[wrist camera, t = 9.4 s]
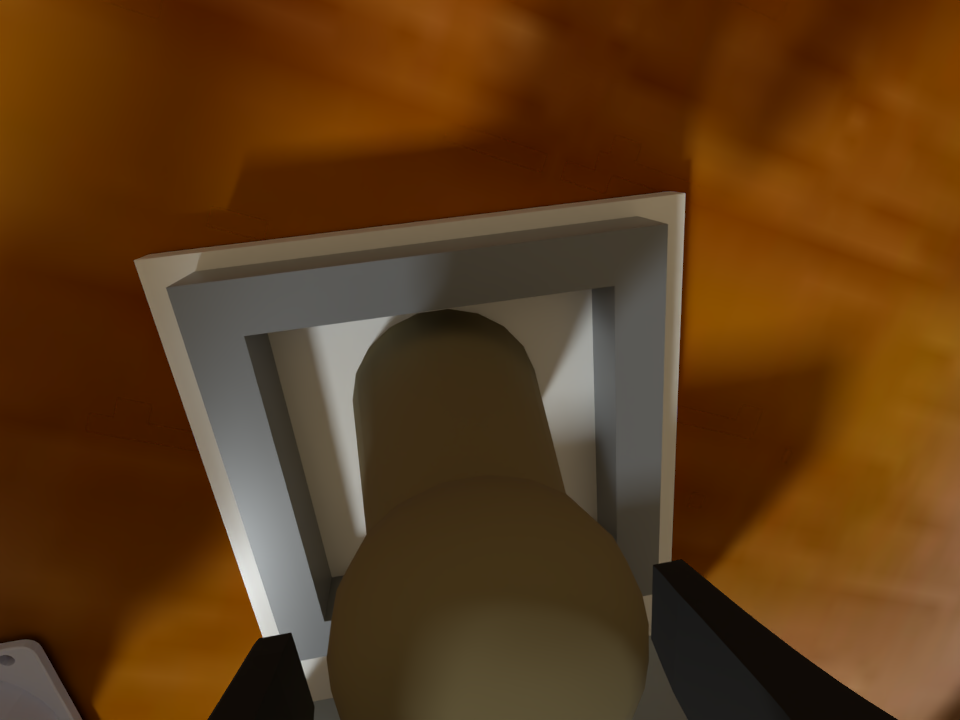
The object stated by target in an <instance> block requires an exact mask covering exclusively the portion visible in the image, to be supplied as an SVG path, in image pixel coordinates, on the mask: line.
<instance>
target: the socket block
mask: <svg viewBox="0 0 960 720" xmlns="http://www.w3.org/2000/svg"><path fill="white" fill-rule="evenodd" d="M685 196H686V193H681V192H673V191H667V192H659V193H650V194H642V195H634V196H626V197H617V198H609V199H601V200H593V201H584V202H576V203H568V204H560V205H551V206H543V207H535V208H527V209H518V210H510V211H502V212H494V213H485V214H477V215H469V216H461V217H452V218H444V219H436V220H428V221H419V222H411V223H403V224H395V225H386V226H378V227H370V228H362V229H353V230H345V231H337V232H329V233H320V234H312V235H304V236H296V237H287V238H279V239H271V240H263V241H254V242H246V243H238V244H230V245H221V246H213V247H205V248H196V249H188V250H180V251H172V252H163V253H155V254H149V255H146V256H144V257H141V258H138V259H136V260H134V263H135V266H136V269H137V272H138V275H139V278H140V281H141V284H142V287H143V289H144V292H145V295H146V298H147V301H148V304H149V307H150V310H151V313H152V316H153V319H154V321H155V324H156V327H157V330H158V333H159V336H160V339H161V342H162V345H163V348H164V351H165V354H166V356H167V359H168V362H169V365H170V368H171V371H172V374H173V377H174V380H175V383H176V386H177V388H178V391H179V394H180V397H181V400H182V403H183V406H184V409H185V412H186V415H187V418H188V421H189V423H190V426H191V429H192V432H193V435H194V438H195V441H196V444H197V447H198V450H199V453H200V455H201V458H202V461H203V464H204V467H205V470H206V473H207V476H208V479H209V482H210V485H211V488H212V490H213V493H214V496H215V499H216V502H217V505H218V508H219V511H220V514H221V517H222V520H223V522H224V525H225V528H226V531H227V534H228V537H229V540H230V543H231V546H232V549H233V552H234V555H235V557H236V560H237V563H238V566H239V569H240V572H241V575H242V578H243V581H244V584H245V587H246V589H247V592H248V595H249V598H250V601H251V604H252V607H253V610H254V613H255V616H256V619H257V622H258V624H259V627H260V630H261V633H262V636H263V638H264V637H269V636H275V635H280V634H285V633H292V636H293V639H294V642H295V645H296V649H297V652H298V655H299V658H300V661H301V664H302V668H303V671H304V674H305V677H306V680H307V684H308V687H309V690H310V693H311V696H312V700H313V703H314V706H315V709H314V720H340V717H339V714H338V711H337V708H336V705H335V702H334V699H333V696H332V693H331V688H330V681H329V674H328V666H327V651H328V643H329V635H330V627H331V620H332V614H333V608H334V602H335V597H336V591H337V588H338V586H339V584H340V582H341V580H342V578H343V576H344V574H345V572H346V571H347V569H348V567H349V565H350V563H351V561H352V559H353V558H354V556H355V554H356V552H357V551H358V549H359V547H360V545H361V543H362V542H363V540H364V538H365V536H366V525H365V516H364V506H363V496H362V487H361V477H360V468H359V458H358V449H357V439H356V429H355V420H354V410H353V401H352V400H353V392H354V384H355V376H356V372H357V370H358V368H359V366H360V364H361V362H362V360H363V358H364V356H365V354H366V352H367V350H368V348H369V347H370V346H371V345H372V344H373V343H374V342H375V341H376V340H377V339H378V338H379V337H380V336H381V335H382V334H384V333H385V332H386V331H387V330H388V329H389V328H390V327H391V326H393V325H395V324H397V323H399V322H401V321H403V320H406V319H408V318H410V317H412V316H414V315H416V314H418V313H424V312H431V311H437V310H444V309H453V310H459V311H466V312H473V313H478V314H480V315H482V316H484V317H486V318H488V319H490V320H492V321H494V322H496V323H498V324H500V325H502V326H504V327H505V328H506V329H507V330H508V331H509V332H510V333H511V334H512V335H513V336H514V337H515V338H516V339H517V340H518V341H519V342H520V343H521V344H522V345H523V346H524V348H525V350H526V353H527V355H528V357H529V359H530V361H531V363H532V365H533V368H534V370H535V373H536V377H537V381H538V385H539V389H540V393H541V397H542V401H543V405H544V409H545V413H546V417H547V421H548V425H549V429H550V432H551V436H552V440H553V444H554V448H555V452H556V456H557V460H558V464H559V468H560V472H561V476H562V480H563V484H564V488H565V492H566V494H567V495H568V496H569V497H570V498H571V499H573V500H574V501H575V502H576V503H577V504H578V505H579V506H580V507H581V508H582V509H584V510H585V511H586V512H587V513H588V514H589V515H590V516H591V517H592V518H593V519H594V520H596V521H597V522H598V523H599V524H600V525H601V526H602V527H603V528H604V529H605V530H606V531H608V532H609V533H610V534H611V535H612V536H613V538H614V539H615V541H616V543H617V545H618V546H619V548H620V550H621V552H622V553H623V555H624V557H625V559H626V560H627V562H628V565H629V567H630V569H631V571H632V573H633V575H634V578H635V580H636V582H637V584H638V586H639V589H640V591H641V593H642V596H643V600H644V605H645V609H646V614H647V618H648V623H649V663H648V670H647V676H646V683H645V689H644V692H643V694H642V697H641V699H640V702H639V704H638V707H637V709H636V712H635V714H634V717H633V719H632V720H688V719H687V717H686V715H685V714H684V712H683V710H682V708H681V706H680V704H679V702H678V700H677V699H676V697H675V695H674V693H673V691H672V688H671V686H670V684H669V681H668V679H667V677H666V674H665V672H664V670H663V667H662V665H661V662H660V660H659V657H658V655H657V652H656V650H655V647H654V645H653V642H652V640H651V625H652V578H653V565H654V564H660V563H665V562H670V561H671V558H672V532H673V506H674V481H675V455H676V429H677V403H678V377H679V351H680V326H681V300H682V274H683V248H684V222H685Z"/></svg>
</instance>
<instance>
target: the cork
mask: <svg viewBox="0 0 960 720" xmlns="http://www.w3.org/2000/svg"><path fill="white" fill-rule="evenodd" d="M352 401H353V410H354V420H355V429H356V439H357V449H358V458H359V468H360V477H361V487H362V496H363V506H364V516H365V525H366V536H365V538H364V540H363V542H362V543H361V545H360V547H359V549H358V551H357V552H356V554H355V556H354V558H353V559H352V561H351V563H350V565H349V567H348V569H347V571H346V572H345V574H344V576H343V578H342V580H341V582H340V584H339V586H338V588H337V591H336V597H335V602H334V608H333V614H332V620H331V627H330V635H329V643H328V651H327V666H328V674H329V681H330V688H331V693H332V696H333V699H334V702H335V705H336V708H337V711H338V714H339V717H340V720H632V719H633V717H634V714H635V712H636V709H637V707H638V704H639V702H640V699H641V697H642V694H643V692H644V689H645V683H646V676H647V670H648V663H649V623H648V618H647V614H646V609H645V605H644V600H643V596H642V593H641V591H640V589H639V586H638V584H637V582H636V580H635V578H634V575H633V573H632V571H631V569H630V567H629V565H628V562H627V560H626V559H625V557H624V555H623V553H622V552H621V550H620V548H619V546H618V545H617V543H616V541H615V539H614V538H613V536H612V535H611V534H610V533H609V532H608V531H606V530H605V529H604V528H603V527H602V526H601V525H600V524H599V523H598V522H597V521H596V520H594V519H593V518H592V517H591V516H590V515H589V514H588V513H587V512H586V511H585V510H584V509H582V508H581V507H580V506H579V505H578V504H577V503H576V502H575V501H574V500H573V499H571V498H570V497H569V496H568V495H567V494H566V492H565V488H564V484H563V480H562V476H561V472H560V468H559V464H558V460H557V456H556V452H555V448H554V444H553V440H552V436H551V432H550V429H549V425H548V421H547V417H546V413H545V409H544V405H543V401H542V397H541V393H540V389H539V385H538V381H537V377H536V373H535V370H534V368H533V365H532V363H531V361H530V359H529V357H528V355H527V353H526V350H525V348H524V346H523V345H522V344H521V343H520V342H519V341H518V340H517V339H516V338H515V337H514V336H513V335H512V334H511V333H510V332H509V331H508V330H507V329H506V328H505V327H504V326H502V325H500V324H498V323H496V322H494V321H492V320H490V319H488V318H486V317H484V316H482V315H480V314H478V313H473V312H466V311H459V310H453V309H444V310H437V311H431V312H424V313H418V314H416V315H414V316H412V317H410V318H408V319H406V320H403V321H401V322H399V323H397V324H395V325H393V326H391V327H390V328H389V329H388V330H387V331H386V332H385V333H384V334H382V335H381V336H380V337H379V338H378V339H377V340H376V341H375V342H374V343H373V344H372V345H371V346H370V347H369V348H368V350H367V352H366V354H365V356H364V358H363V360H362V362H361V364H360V366H359V368H358V370H357V372H356V376H355V384H354V392H353V400H352Z"/></svg>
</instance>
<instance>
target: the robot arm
mask: <svg viewBox="0 0 960 720" xmlns="http://www.w3.org/2000/svg"><path fill="white" fill-rule="evenodd" d="M651 640H652V642H653V645H654V647H655V650H656V652H657V655H658V657H659V660H660V662H661V665H662V667H663V670H664V672H665V674H666V677H667V679H668V681H669V684H670V686H671V688H672V691H673V693H674V695H675V697H676V699H677V700H678V702H679V704H680V706H681V708H682V710H683V712H684V714H685V715H686V717H687V719H688V720H898V719H896V718H894V717H893V716H891V715H890V714H888V713H886V712H885V711H883V710H882V709H880V708H878V707H877V706H875V705H874V704H872V703H870V702H869V701H867V700H866V699H864V698H863V697H861V696H860V695H858V694H857V693H855V692H854V691H852V690H851V689H849V688H848V687H846V686H845V685H843V684H842V683H840V682H839V681H838V680H836V679H835V678H833V677H832V676H831V675H829V674H828V673H826V672H825V671H823V670H822V669H821V668H819V667H818V666H816V665H815V664H814V663H812V662H811V661H809V660H808V659H807V658H805V657H804V656H803V655H801V654H800V653H799V652H797V651H796V650H794V649H793V648H792V647H790V646H789V645H788V644H787V643H785V642H784V641H783V640H781V639H780V638H779V637H777V636H776V635H775V634H774V633H772V632H771V631H770V630H768V629H767V628H766V627H764V626H763V625H762V624H760V623H759V622H758V621H757V620H755V619H754V618H753V617H752V616H750V615H749V614H748V613H747V612H745V611H744V610H743V609H742V608H740V607H739V606H738V605H737V604H735V603H734V602H733V601H732V600H731V599H729V598H728V597H727V596H726V595H724V594H723V593H722V592H721V591H720V590H718V589H717V588H716V587H715V586H713V585H712V584H711V583H710V582H709V581H707V580H706V579H705V578H704V577H703V576H701V575H700V574H699V573H698V572H697V571H695V570H694V569H693V568H692V567H690V566H689V565H688V564H687V563H685V562H684V561H683V560H682V559H681V560H676V561H670V562H665V563H660V564H654V565H653V578H652V625H651ZM314 709H315V706H314V703H313V700H312V696H311V693H310V690H309V687H308V684H307V680H306V677H305V674H304V671H303V668H302V664H301V661H300V658H299V655H298V652H297V649H296V645H295V642H294V639H293V636H292V633H285V634H280V635H275V636H269V637H264V638H259V639H258V640H257V641H256V643H255V644H254V645H253V647H252V649H251V650H250V652H249V654H248V655H247V657H246V658H245V660H244V662H243V663H242V665H241V667H240V668H239V670H238V672H237V673H236V675H235V676H234V678H233V680H232V681H231V683H230V685H229V686H228V688H227V689H226V691H225V693H224V694H223V696H222V697H221V699H220V701H219V702H218V704H217V705H216V707H215V709H214V710H213V712H212V713H211V715H210V716H209V718H208V720H314ZM0 720H82V718H81V716H80V715H79V713H78V711H77V709H76V707H75V706H74V704H73V702H72V700H71V698H70V697H69V695H68V693H67V691H66V690H65V688H64V686H63V684H62V682H61V681H60V679H59V677H58V675H57V673H56V672H55V670H54V668H53V666H52V664H51V663H50V661H49V659H48V657H47V655H46V654H45V652H44V650H43V648H42V646H41V645H40V644H39V643H38V642H36V641H34V640H29V639H25V640H17V641H12V642H6V643H0Z"/></svg>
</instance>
